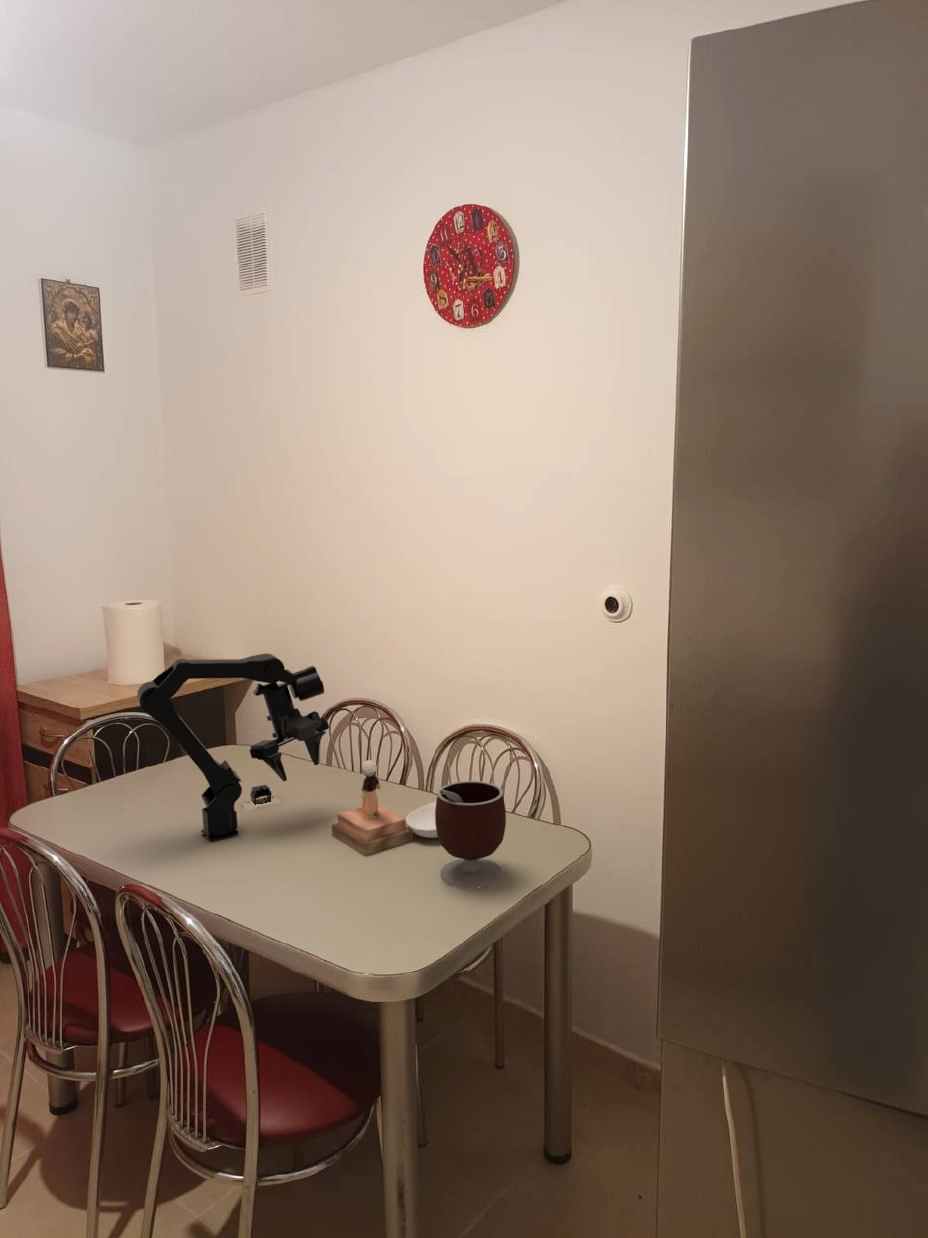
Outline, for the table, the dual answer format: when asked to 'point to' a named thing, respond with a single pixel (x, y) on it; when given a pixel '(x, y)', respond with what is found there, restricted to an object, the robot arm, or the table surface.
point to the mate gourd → (470, 831)
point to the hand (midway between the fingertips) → (301, 772)
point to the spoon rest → (423, 821)
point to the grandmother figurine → (370, 790)
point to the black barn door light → (260, 794)
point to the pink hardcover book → (371, 830)
